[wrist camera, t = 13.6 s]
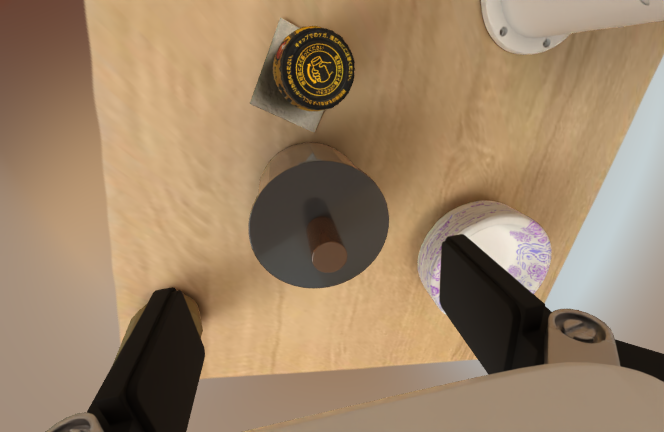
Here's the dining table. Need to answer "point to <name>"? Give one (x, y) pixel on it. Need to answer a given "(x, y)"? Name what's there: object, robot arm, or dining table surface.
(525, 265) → the paper bowls
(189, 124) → the dining table surface
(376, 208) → the lid
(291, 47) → the condiment
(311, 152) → the pot
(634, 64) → the dining table surface
